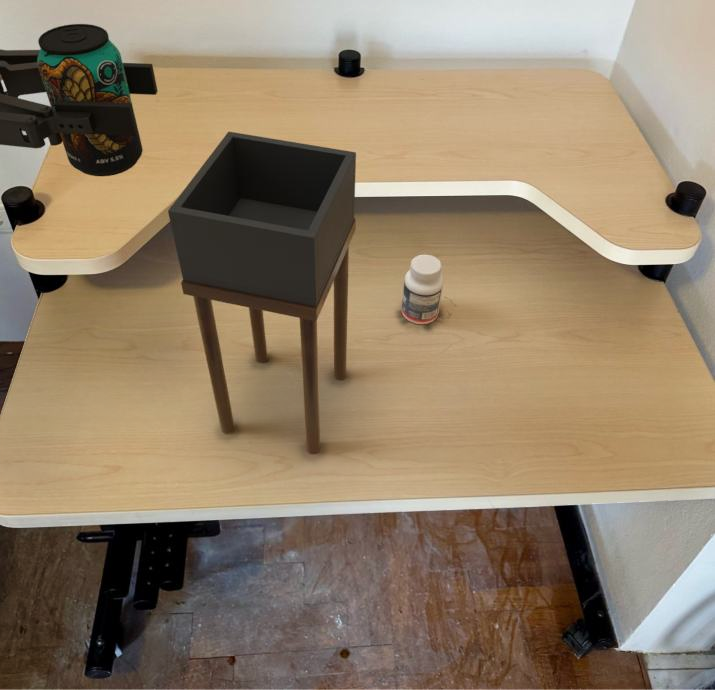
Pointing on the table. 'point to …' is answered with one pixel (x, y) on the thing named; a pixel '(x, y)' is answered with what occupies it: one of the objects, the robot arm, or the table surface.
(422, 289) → the pill bottle
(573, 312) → the table surface
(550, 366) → the table surface
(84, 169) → the beverage can
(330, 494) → the table surface
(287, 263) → the trash bin
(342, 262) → the stool
